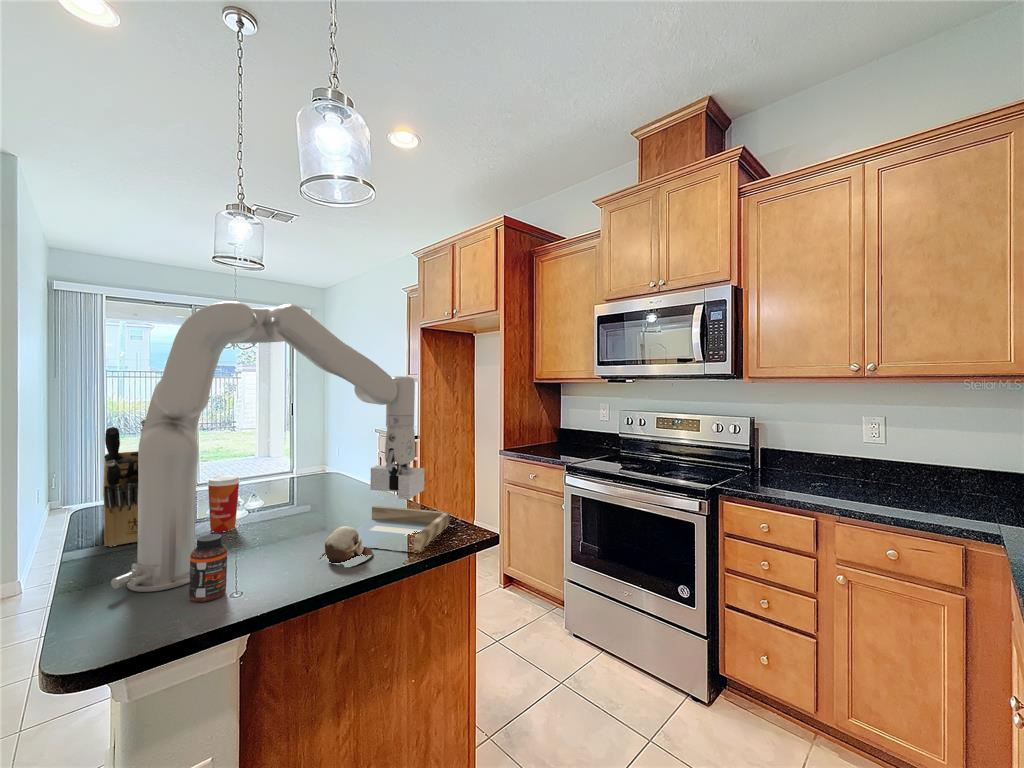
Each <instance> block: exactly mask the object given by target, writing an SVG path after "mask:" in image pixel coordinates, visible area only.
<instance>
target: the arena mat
mask: <svg viewBox="0 0 1024 768" xmlns="http://www.w3.org/2000/svg"><path fill="white" fill-rule="evenodd" d="M427 526H428V524H417V523H407V522H396V521H386V520H375V519H372V518H371V519H369V520H368V521H366V522H364V523H363V524H360V525H359V526H358V527H357V528H354V529H355V530H356V531H357V532H358V534H359V537H360V538H361V539H362V545H363V546H368V547H369V546H370V544H371V545H374V544H375V543H376V541H378V539H380V538H382V539H385V538H386V539H387V538H388V537H390V536H394V537H395V536H399V537H400V536H401V535H404V536H407V535H408V534H410V535H411V534H412V533H415V532H416V531H417V532H420V531H422V530H423V529H425V528H426V527H427ZM414 531H415V532H414ZM417 532H416V533H417ZM412 535H413V534H412ZM376 539H377V540H376ZM372 540H373V541H372ZM374 541H375V542H374ZM379 541H380V540H379ZM368 544H369V545H368ZM376 544H377V543H376ZM376 544H375V546H376Z"/></svg>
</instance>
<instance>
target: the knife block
mask: <svg viewBox="0 0 1024 768" xmlns="http://www.w3.org/2000/svg"><path fill="white" fill-rule="evenodd" d="M144 423H145V419H142V420H141V421H140V425H141V426H142V428H141V430H140V432H141V433H142V430H143V427H144ZM104 437H105V438H104V442H105V448H106V451H107V453H105V455H104V469H103V492H102V494H103V495H102V497H103V521H104V522H103V529H104V531H103V532H104V533H103V534H104V535H103V536H104V539H103V540H104V547H105V546H114V545H116V546H119V545H124V544H125V545H126V544H129V543H131V544H132V543H138V450H136V451H124V452H123V451H122V452H120V451H119V450H120V445H121V440H120V431H119V428H117V427H115V426H114V427H113V426H112V427H111V426H110V427H107V429H106V431H105V435H104ZM114 547H115V546H114Z"/></svg>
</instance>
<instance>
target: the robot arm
mask: <svg viewBox="0 0 1024 768" xmlns="http://www.w3.org/2000/svg"><path fill="white" fill-rule="evenodd" d="M282 342H285V343H286V344H287V345H289V346H290V347H291V348H292V349H294V350H295V351H297V352H298V353H299V354H300V355H302V356H303V357H305V358H306V359H307V360H308V361H310V362H311V363H312V364H313V365H314V366H316V367H317V368H319V369H321V370H322V371H324V372H326V373H329V374H332V375H334V376H337V377H339V378H341V379H343V380H345V381H347V382H348V383H350V384H352V385H353V386H354V393H355V396H356V397H357V398H358V399H359V400H360V401H362V402H364V403H367V404H373V405H380V406H382V405H383V406H384V405H386V406H385V427H386V435H385V444H384V460H385V461H384V462H385V463H386V464H385V466H386V468H387V469H388V471H389V489H390V490H397V491H398V480H399V475H400V469H401V467H410V465H411V462H413V461H414V460H415V458H416V437H415V428H414V427H415V403H416V402H415V393H416V389H415V388H416V381H415V379H414V378H413V377H411V376H400V375H399V376H396V375H395V376H394V375H393V376H391V375H389V374H388V373H387V371H385V370H384V369H383V368H381V367H380V366H379V365H378V364H377V363H375V362H374V361H373V360H372V359H370V358H368V357H367V356H365V355H364V354H362V353H361V352H359V351H357V350H356V349H354V348H353V347H352V346H350V345H348V344H346V343H345V342H343V341H342V340H341V339H340V338H338V337H337V335H335V334H334V333H332V332H331V331H329V329H327V328H326V327H325V325H323V324H321V323H320V322H319V321H318V320H316V318H314V317H313V316H312V314H311V315H310V314H309V313H308V312H307V311H306V310H304V309H303V308H301V307H300V306H298V305H296V304H293V303H287V304H286V303H285V304H282V305H279V306H277V307H262V308H261V307H260V308H259V307H250V306H248V305H247V304H245V303H243V302H239V301H234V300H233V301H222V302H217V303H216V302H215V303H213V304H212V303H211V304H209V305H206V306H204V307H202V308H200V309H198V310H196V311H195V312H193V313H192V314H191V315H190V316H189V317H188V318H187V319H185V321H184V322H183V323H182V325H180V328H179V329H178V330H177V333H176V335H175V337H174V340H173V342H172V344H171V348H170V351H169V355H168V357H167V359H166V363H165V367H164V370H163V373H162V376H161V379H160V380H159V381H158V382H157V384H156V385H155V387H154V389H153V392H152V396H151V398H150V402H149V406H148V408H147V409H148V410H147V413H146V417H145V419H144V420H145V423H144V427H143V426H142V428H143V430H142V432H141V435H140V438H139V443H138V450H137V451H138V542H137V550H136V551H137V556H136V557H137V560H136V562H134V563H132V564H131V569H130V570H128V572H127V573H125V574H121V575H118V576H116V577H114V578H112V579H111V581H110V585H111V587H112V588H113V589H114V590H115V589H118V588H120V587H123V586H126V587H127V588H128V589H129V590H131V591H133V592H138V593H139V592H140V593H142V592H144V593H145V592H146V593H148V592H150V593H151V592H159V591H164V590H169V589H174V588H178V587H181V586H184V585H187V584H190V556H191V552H192V551H193V550H194V549H196V511H197V510H196V509H197V507H196V506H197V477H198V476H197V474H198V472H197V471H198V462H199V447H198V446H199V445H198V441H197V439H196V437H195V436H196V431H197V428H198V425H199V421H200V418H201V414H202V412H203V411H205V408H206V407H207V406H208V404H209V400H210V394H211V389H212V385H213V380H214V376H215V373H216V369H217V367H218V364H219V361H220V356H221V354H222V352H223V350H224V349H225V348H226V347H227V346H228V345H229V344H255V343H256V344H261V343H262V344H263V343H264V344H265V343H282ZM394 466H396V467H397V469H396V467H394Z"/></svg>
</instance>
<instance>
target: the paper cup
mask: <svg viewBox="0 0 1024 768" xmlns="http://www.w3.org/2000/svg"><path fill="white" fill-rule="evenodd" d="M240 483H241V480H240V478H239V476H238V475H231V474H230V475H219V476H218V475H217V476H214V477H210V478H209V479H208V482H207V483H206V485H207V486H208V508H209V525H210V532H211V531H214V532H223V531H228V530H231V529H233V528H235V529H236V522H237V512H238V511H237V510H238V509H237V508H238V498H239V486H240ZM233 530H234V529H233ZM231 531H232V530H231ZM228 532H229V531H228ZM223 533H224V532H223Z"/></svg>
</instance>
